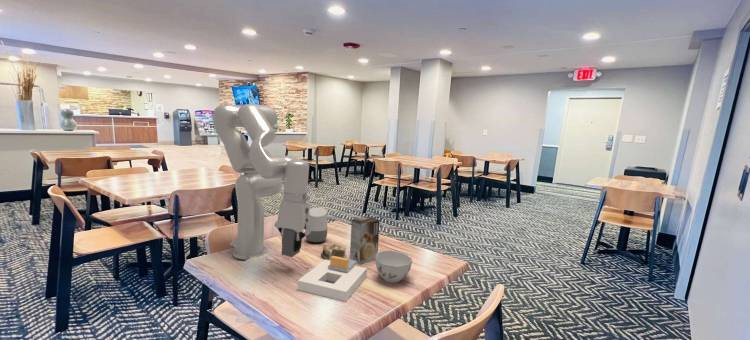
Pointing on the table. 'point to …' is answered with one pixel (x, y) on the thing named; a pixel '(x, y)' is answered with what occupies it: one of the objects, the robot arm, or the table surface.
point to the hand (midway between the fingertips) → (291, 248)
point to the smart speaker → (317, 225)
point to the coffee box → (364, 239)
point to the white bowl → (393, 265)
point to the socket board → (332, 281)
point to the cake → (333, 251)
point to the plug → (289, 243)
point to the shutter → (341, 263)
